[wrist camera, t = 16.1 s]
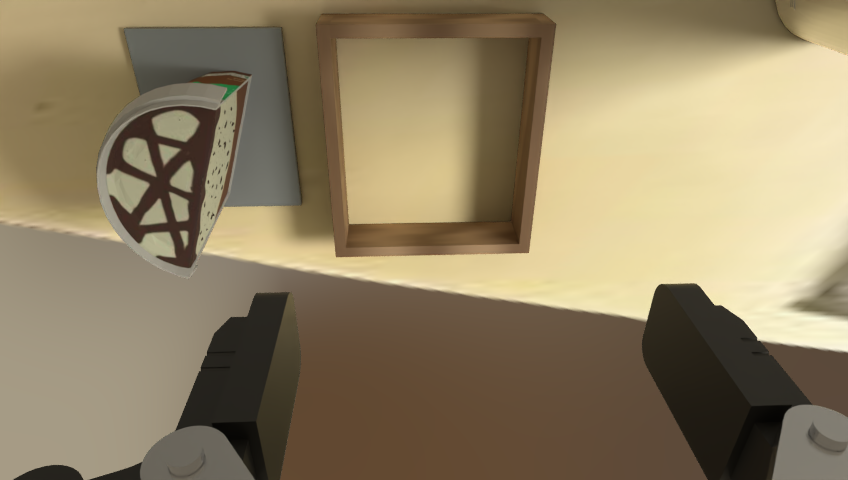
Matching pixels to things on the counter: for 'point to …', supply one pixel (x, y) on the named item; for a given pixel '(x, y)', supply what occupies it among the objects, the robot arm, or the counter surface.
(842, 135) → the counter surface
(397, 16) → the frame
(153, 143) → the food container
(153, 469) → the robot arm
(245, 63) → the rubber mat
